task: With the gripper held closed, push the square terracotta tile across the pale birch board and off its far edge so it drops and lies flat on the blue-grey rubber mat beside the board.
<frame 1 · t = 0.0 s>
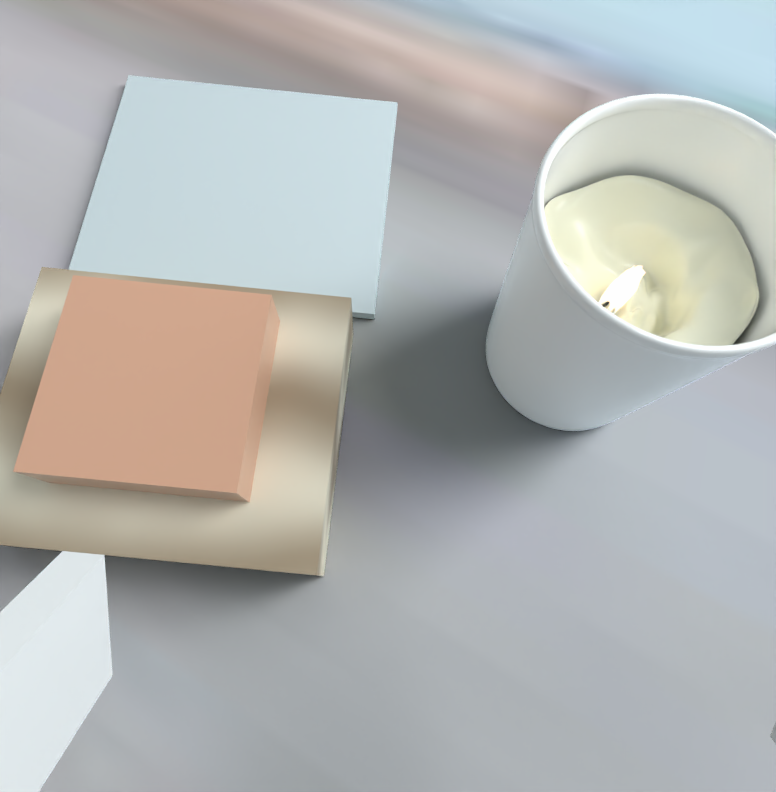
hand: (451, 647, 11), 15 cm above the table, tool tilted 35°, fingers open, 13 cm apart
candle holder: (562, 357, 30), on the table
terracotta tile: (170, 397, 24), point 4 cm above the table, touching birch board
birch board: (195, 433, 27), on the table
rubber mat: (245, 193, 32), on the table
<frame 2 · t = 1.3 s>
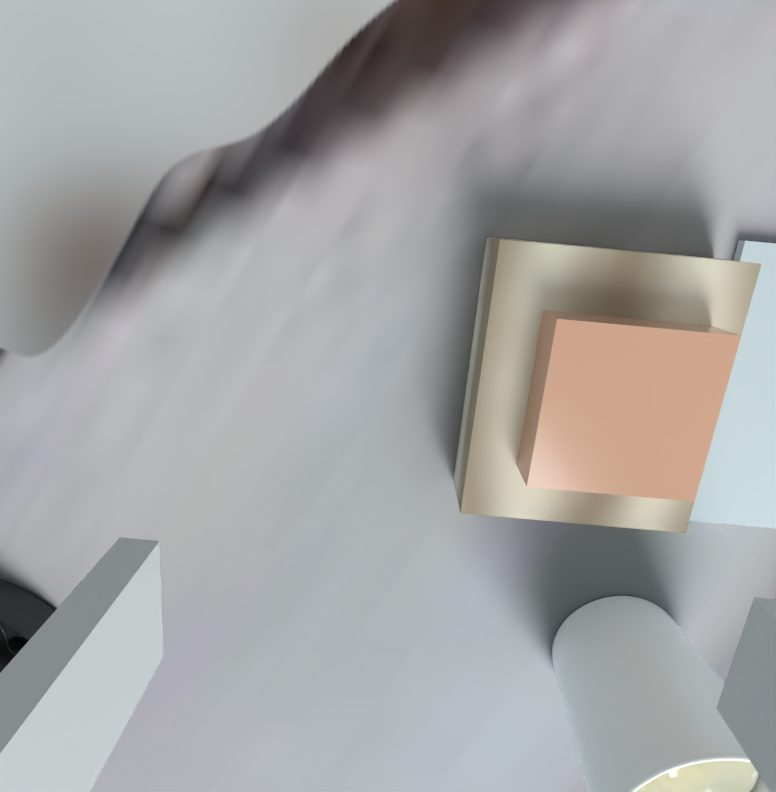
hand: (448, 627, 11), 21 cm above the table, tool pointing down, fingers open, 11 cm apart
candle holder: (613, 645, 37), on the table
terracotta tile: (610, 398, 28), point 4 cm above the table, touching birch board
birch board: (575, 376, 32), on the table
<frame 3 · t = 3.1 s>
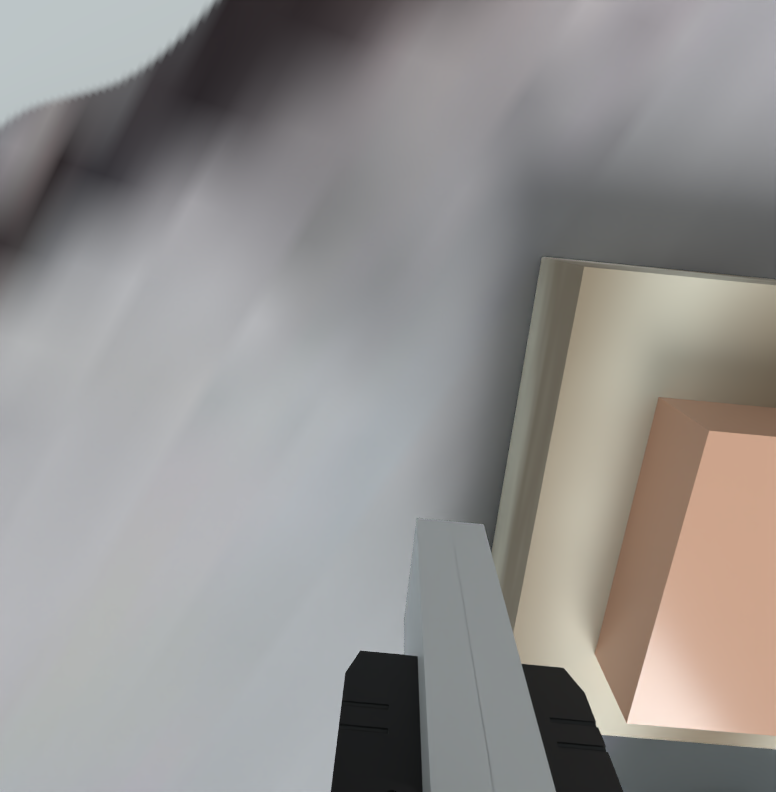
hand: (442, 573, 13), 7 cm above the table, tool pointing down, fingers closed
terracotta tile: (767, 548, 15), point 4 cm above the table, touching birch board
birch board: (679, 482, 19), on the table
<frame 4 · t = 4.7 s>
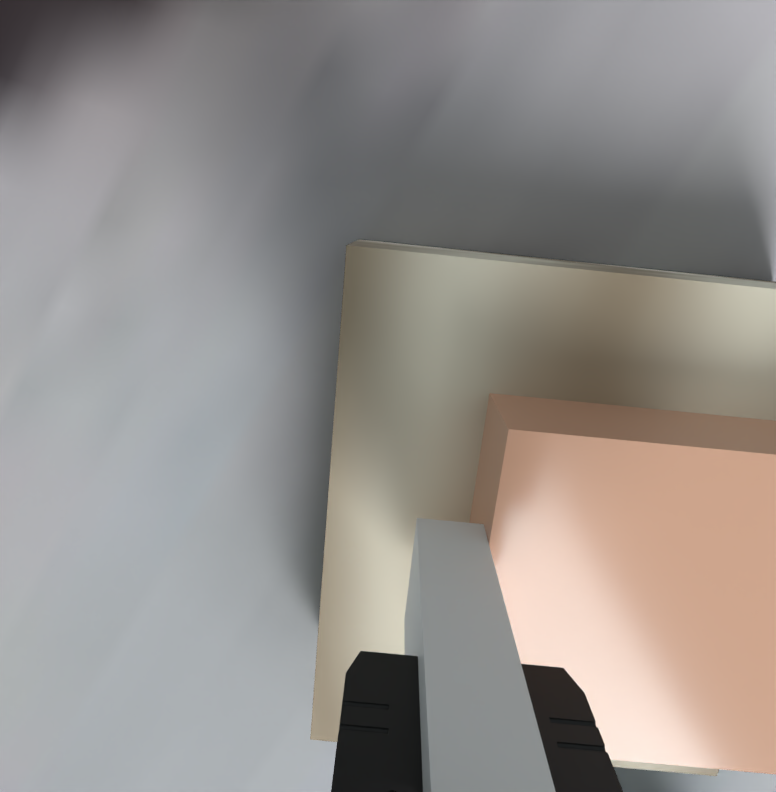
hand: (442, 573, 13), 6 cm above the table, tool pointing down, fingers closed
terracotta tile: (621, 556, 14), point 4 cm above the table, touching birch board
birch board: (525, 481, 18), on the table
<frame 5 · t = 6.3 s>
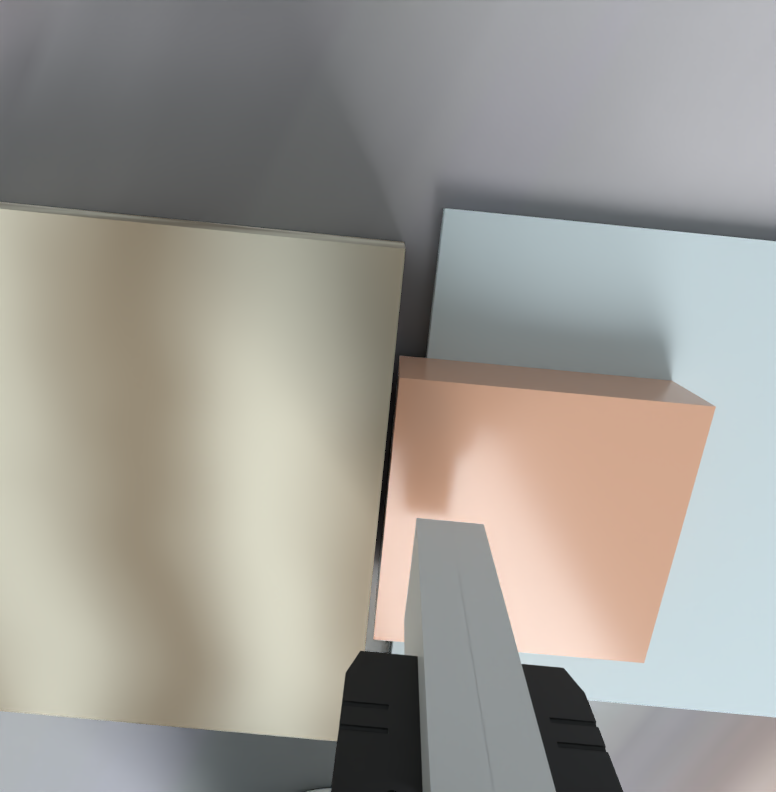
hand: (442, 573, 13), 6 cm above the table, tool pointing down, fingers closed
terracotta tile: (514, 491, 18), point 1 cm above the table, touching rubber mat
birch board: (195, 448, 18), on the table
rubber mat: (627, 489, 18), on the table
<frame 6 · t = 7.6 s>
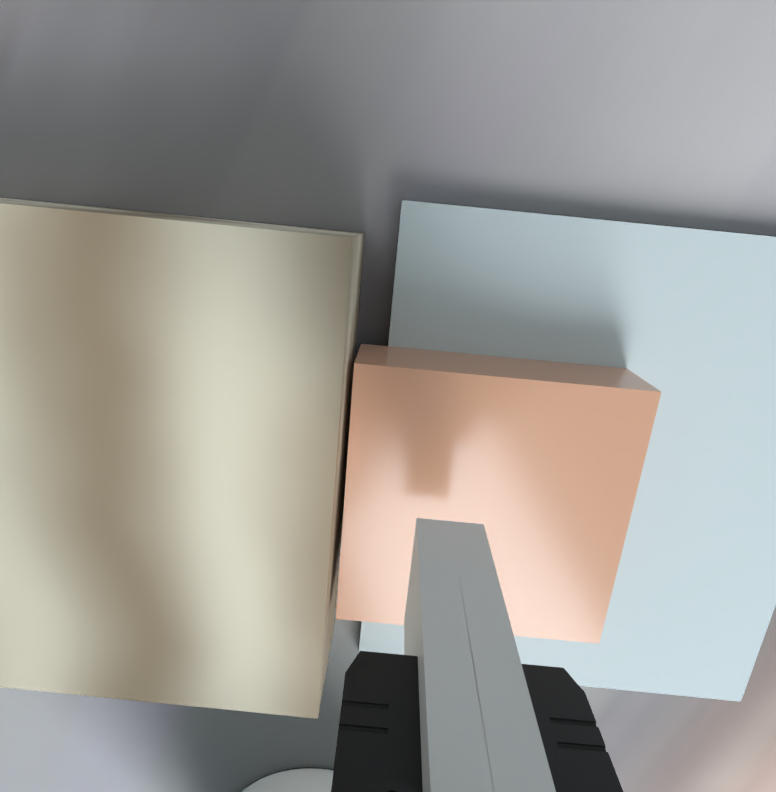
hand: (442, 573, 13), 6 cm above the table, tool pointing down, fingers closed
terracotta tile: (475, 476, 18), point 1 cm above the table, touching rubber mat
birch board: (167, 434, 19), on the table
rubber mat: (588, 476, 19), on the table
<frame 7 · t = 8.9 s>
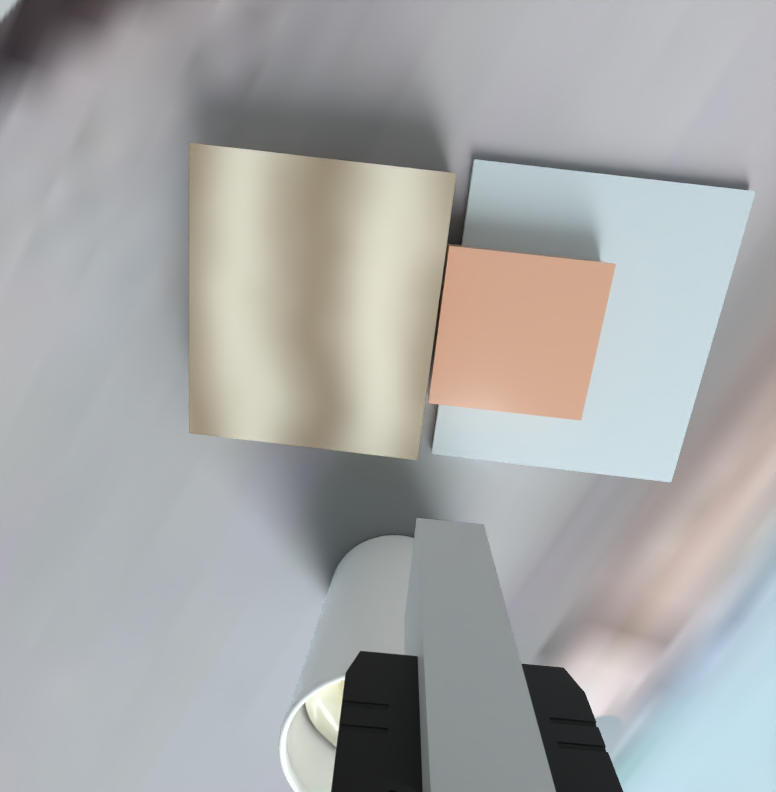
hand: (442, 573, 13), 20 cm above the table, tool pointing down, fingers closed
candle holder: (395, 587, 37), on the table
terracotta tile: (510, 327, 30), point 1 cm above the table, touching rubber mat
birch board: (324, 301, 31), on the table
rubber mat: (577, 331, 31), on the table
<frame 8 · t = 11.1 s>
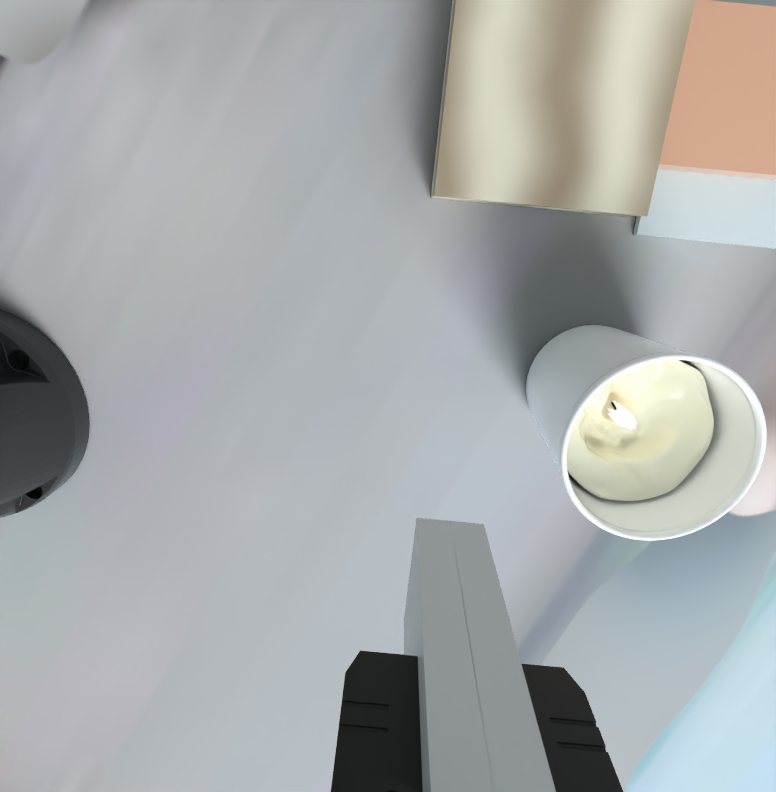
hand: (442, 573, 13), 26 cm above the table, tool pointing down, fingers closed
candle holder: (584, 382, 39), on the table
terracotta tile: (722, 100, 33), point 1 cm above the table, touching rubber mat
birch board: (545, 82, 33), on the table
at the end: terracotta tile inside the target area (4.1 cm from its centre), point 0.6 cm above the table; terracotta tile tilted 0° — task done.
